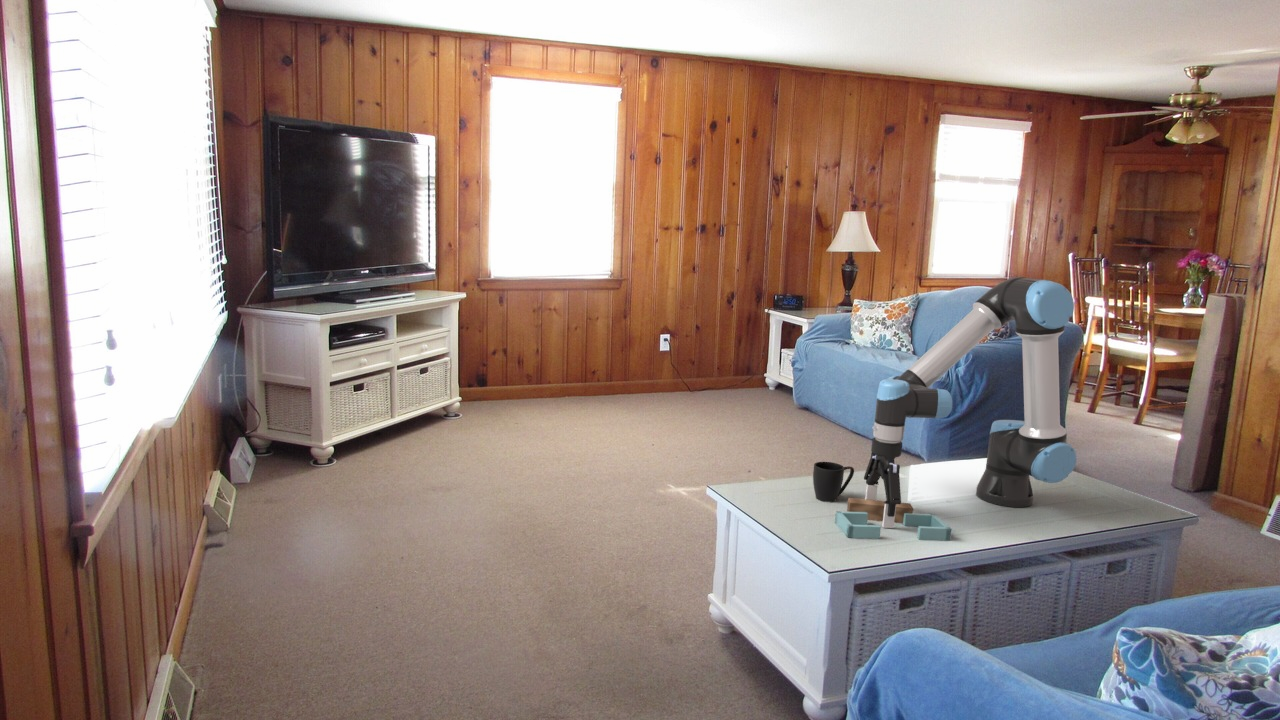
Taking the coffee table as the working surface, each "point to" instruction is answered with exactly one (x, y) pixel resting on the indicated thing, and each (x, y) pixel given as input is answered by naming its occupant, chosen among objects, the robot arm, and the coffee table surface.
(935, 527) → the teal staple arch
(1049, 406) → the robot arm
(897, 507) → the slat
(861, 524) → the cap
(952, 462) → the coffee table surface
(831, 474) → the mug
